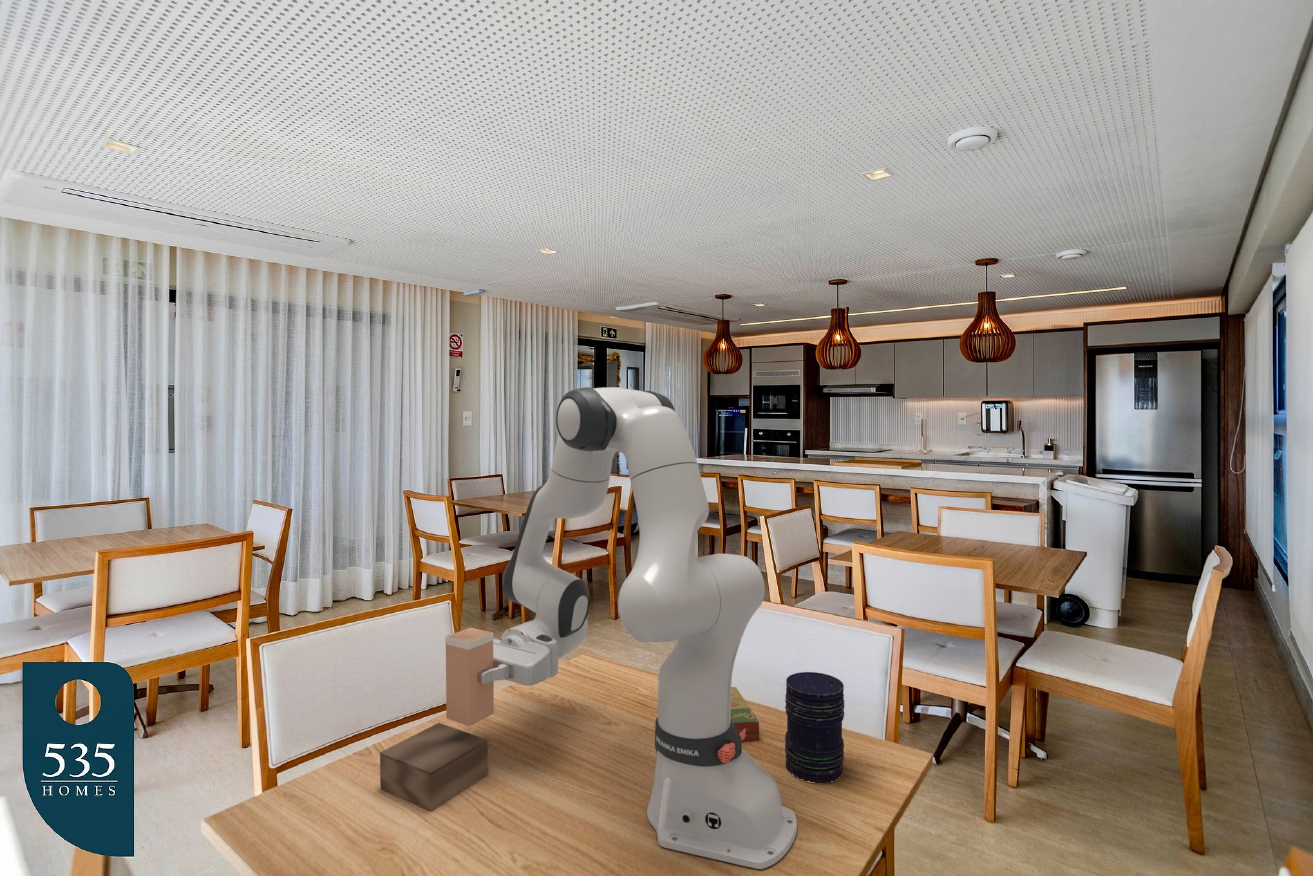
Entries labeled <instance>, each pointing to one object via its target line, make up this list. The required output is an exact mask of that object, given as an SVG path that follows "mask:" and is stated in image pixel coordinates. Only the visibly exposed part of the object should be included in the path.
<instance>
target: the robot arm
mask: <svg viewBox="0 0 1313 876" xmlns="http://www.w3.org/2000/svg"><path fill="white" fill-rule="evenodd" d="M559 401H560V402H559V403H558V406H557V410H556V413H555V414H556V415H555V424H556V429H557V433H558V439H557V441H556V445H555V448H554V452H553V457H552V462H551V469H550V473H549V476H548V478H547V480H546V482H545V484H541V485H540V486H538V487H537V488H536V489H535V491H534V493H533V494H532V496H531V498H530V500H529V503H528V506H527V508H526V510H525V511H526V512H525V515H524V517H523V521H522V523H521V527H520V530H519V534H518V536H517V541H516V544H515V546H514V549H513V553H512V556H511V558H510V560H509V561H508V564H507V566H506V567H505V569H504V573H503V575H502V581H501V582H502V589H503V593H504V596H505V598H506V599H508V600H509V601H510V602H513V603H515V604H517V605H520V606H521V607H525V608H527V609H528V610H531V611H532V612H533V613H535V617H534V618H533V619H532V620H530V621H526V622H524V623H520V624H518V625H516V626H513V627H511V628H508V629H506V630H505V631H504V632H503V633H502V635H501V636H500V639H497V638H494V640H493V669H489V670H487V669H484V670H482V671H480V672H478V676H477V677H478V682H481V683H484V684H486V683H488V682H490V681H494V682H495V681H496V682H497V681H504V680H505V681H507V682H508V681H510V682H512V683H516V684H520V685H523V686H535V685H537V684H539V683H542V682H545V680H548V679H549V678H553V677H556V676H557V675H558V671H559V659H560V658H562V657H565V656H566V655H568V654H569V653H571V652H572V651H574V650H575V649H576V648H577V647H579V646H580V645H581V644H582V643H583V641H584V640H585V639H586V637H587V634H588V630H589V623H588V619H587V617H588V614H589V611H590V610H589V609H590V606H591V605H590V604H591V601H590V599H591V598H590V592H589V587H588V584H587V582H586V581H584V580H583V579H581V578H580V577H578V576H577V575H574V574H572V573H570V572H569V571H566V570H563V569H561V568H560V567H558V566H556V565H553V564H552V563H550V562H549V561H547V559H546V558H545V556H544V555H543V551H544V548H545V545H546V541H547V538H548V536H549V532H550V529H551V526H552V523H553V521H554V520H555V519H576V518H580V517H584V516H587V515H589V514H592V513H593V512H595V511H596V510H598V509H599V508H600V506H602V505H603V504H604V501H605V499H606V497H607V493H608V490H609V487H610V486H609V485H610V478H611V473H612V467H613V461H614V456H615V455H616V453H622V454H623V456H624V459H625V461H626V464H627V465H626V466H627V470H628V475H629V482H630V485H631V489H632V494H633V497H634V498H633V499H634V504H635V508H636V513H637V520H638V527H639V529H638V530H639V542H638V548H637V549H638V550H637V555H636V559H635V561H634V564H633V567H632V569H631V571H630V572H629V574H628V576H627V577H626V578H625V580H624V582H623V583H622V584H621V587H620V590H619V593H618V599H617V611H618V616H619V617H620V621H621V623H622V625H623V627H624V628H625V630H626V631H627V633H628V634H629V635H630V636H631V637H633V639H635V640H636V641H638V642H641V643H668V642H669V643H670V642H675V641H677V642H676V644H675V645H674V647H673V649H672V650H671V652H670V653H669V654H668V656H667V657H666V658H665V659H664V660H663V661H662V663H661V665H660V668H659V671H658V674H657V678H658V679H657V717H656V719H655V722H654V723H655V724H654V749H655V752H656V762H655V772H654V779H653V784H652V791H651V794H650V798H649V801H648V805H647V808H646V815H647V819H648V821H649V823H650V825H651V826H652V827H653V828H654V830H655V831H656V839H657V843H658V845H659V846H661V847H662V848H665V849H670V850H674V851H678V852H683V853H686V854H690V855H694V856H699V857H703V858H704V857H705V858H708V859H711V860H717V861H721V862H726V863H729V864H735V865H739V866H743V867H748V868H752V869H756V870H764V869H766V868H768V867H771V866H772V865H775V864H776V863H778V862H779V861H781V859H782V858H783V857H784V856H785V855H787V853H788V851H789V850H790V848H791V847H792V845H793V844H794V841H795V839H796V836H797V831H798V822H797V821H798V820H797V816H796V814H795V812H794V811H793V810H792V809H791V808H788V807H786V806H784V805H782V800H781V794H780V790H779V786H778V783H777V782H776V780H775V779H774V777H773V776H772V775H770V774H769V772H767V771H766V770H765V769H764V767H762V766H761V765H760V764H759V763H757V761H756V760H755V759H754V758H753V757H751V756H750V754H748V752H747V751H745V750H744V749H743V748H742V747H743V742H742V740H743V739H744V738H745V736H746V734H745V732H746V729H743V730H742V732H741V733H740V734H739V733H738V732H737V730H736V729H735V727H734V724H733V722H732V720H731V719H730V717H731V687H732V682H733V681H732V680H733V679H732V678H733V670H734V666H735V663H736V658H737V655H738V651H739V648H740V645H741V642H742V638H743V637H744V633H745V632H746V629H747V626H748V624H749V623H750V620H751V619H752V617H753V616H754V614H755V613H756V612H757V611H758V610H759V609H760V607H761V605H762V604H763V601H764V598H765V592H766V591H765V590H766V588H765V587H766V586H765V581H764V576H763V575H762V571H761V570H760V568H759V567H758V565H757V564H756V563H755V562H754V561H753V560H752V559H750V558H749V557H747V556H745V555H740V554H732V553H714V554H710V555H703V556H698V557H697V555H696V554H697V553H696V539H697V535H698V531H699V530H700V528H702V526H703V525H704V524H705V523H706V521H707V520H708V516H709V513H710V507H709V503H708V499H707V494H706V491H705V487H704V483H703V479H702V475H701V472H700V467H699V464H698V461H697V456H696V453H695V451H694V448H693V444H692V442H691V439H690V438H689V437H690V436H689V434H688V431H687V430H686V428H685V425H684V424H683V421H682V419H681V417H680V416H679V414H678V413H677V412H676V409H675V406H674V405H673V402H672V401H671V400H670V399H669V398H668V397H667V396H665V395H664V394H661V393H660V392H659V393H658V392H655V391H651V390H644V391H642V390H638V389H629V388H623V387H617V386H615V387H614V386H613V387H611V386H609V387H608V386H607V387H596V388H595V387H594V388H592V387H591V386H590V387H589V386H587V387H586V386H585V387H579V388H576V389H572V390H570V391H567V392H566V393H565V394H564V395H563V396H562V398H561V399H560V400H559Z"/></svg>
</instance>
